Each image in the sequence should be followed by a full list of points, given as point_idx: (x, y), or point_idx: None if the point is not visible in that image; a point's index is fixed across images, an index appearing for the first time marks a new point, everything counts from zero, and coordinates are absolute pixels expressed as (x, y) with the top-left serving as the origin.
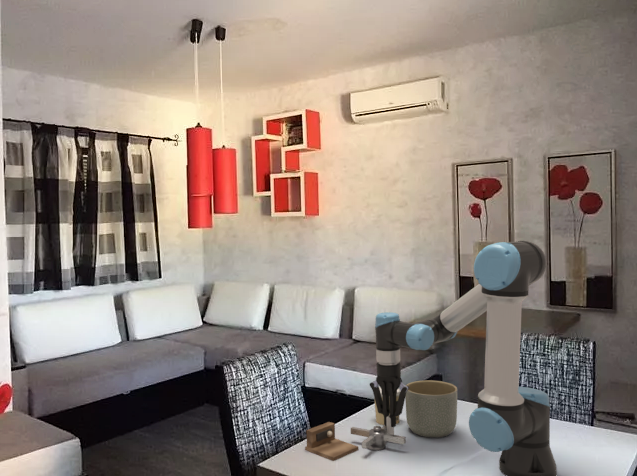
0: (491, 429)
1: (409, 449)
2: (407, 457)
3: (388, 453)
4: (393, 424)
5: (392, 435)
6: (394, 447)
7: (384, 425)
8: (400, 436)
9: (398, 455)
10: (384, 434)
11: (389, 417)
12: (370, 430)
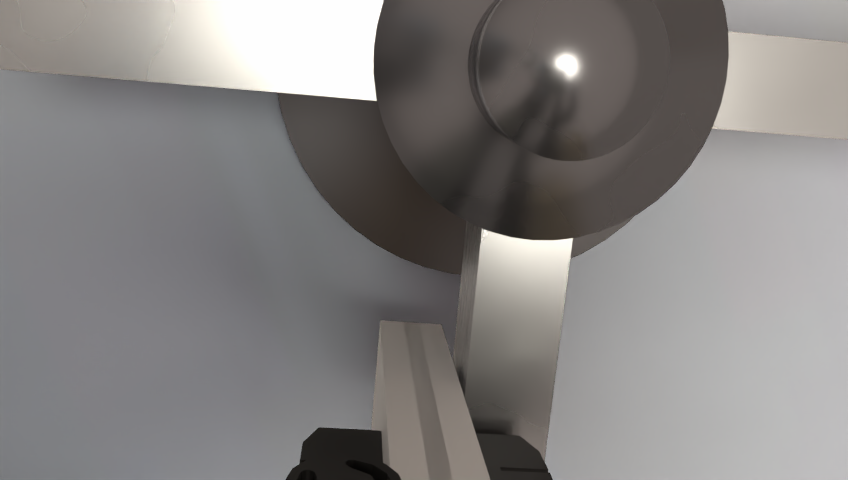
0: None
1: (101, 287)
2: None
3: None
4: (321, 453)
5: (190, 32)
6: (314, 266)
7: None
8: (6, 42)
9: None
10: (369, 15)
11: (385, 465)
12: (706, 39)
